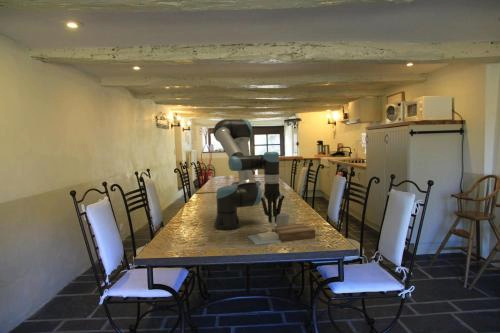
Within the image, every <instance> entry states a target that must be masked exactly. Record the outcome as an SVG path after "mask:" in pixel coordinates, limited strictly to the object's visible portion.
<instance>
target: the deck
mask: <svg viewBox="0 0 500 333" xmlns="http://www.w3.org/2000/svg"><path fill="white" fill-rule="evenodd" d="M271 232H275V233H277V234H278V235H279V240H280V241H281V243H284V242H291V241H292V242H293V241H300V240H307V239H315V238H316V230H315V229H314V228H312V227H310V226H309V225H307V224H305V223H294V224H288V225H282V226H277V225H275V229H271Z"/></svg>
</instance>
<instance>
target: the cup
mask: <svg viewBox="0 0 500 333" xmlns="http://www.w3.org/2000/svg"><path fill="white" fill-rule="evenodd" d="M289 221H290V213H289V212H287V211H280V214H279V215H277V216H276V222H275V226H282V225H289Z"/></svg>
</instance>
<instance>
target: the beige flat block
mask: <svg viewBox="0 0 500 333" xmlns="http://www.w3.org/2000/svg"><path fill="white" fill-rule="evenodd" d="M257 235H258V238H259V239H260V240H261V241H266V240H274V239H279V235H278V234H277V233H275V232H272V231H270V232H263V233H262V232H261V233H257Z"/></svg>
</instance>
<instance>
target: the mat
mask: <svg viewBox="0 0 500 333" xmlns="http://www.w3.org/2000/svg"><path fill="white" fill-rule="evenodd" d="M247 237H248V239H250V241H252V243H253V244H254V245H256V246H262V245H263V246H264V245H270V244H277V243H278V244H280V243H282V241H281V240H279V239H274V240H266V241H261V240H260V239H259V238H258V234H253V235H251V234H250V235H247Z"/></svg>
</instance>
